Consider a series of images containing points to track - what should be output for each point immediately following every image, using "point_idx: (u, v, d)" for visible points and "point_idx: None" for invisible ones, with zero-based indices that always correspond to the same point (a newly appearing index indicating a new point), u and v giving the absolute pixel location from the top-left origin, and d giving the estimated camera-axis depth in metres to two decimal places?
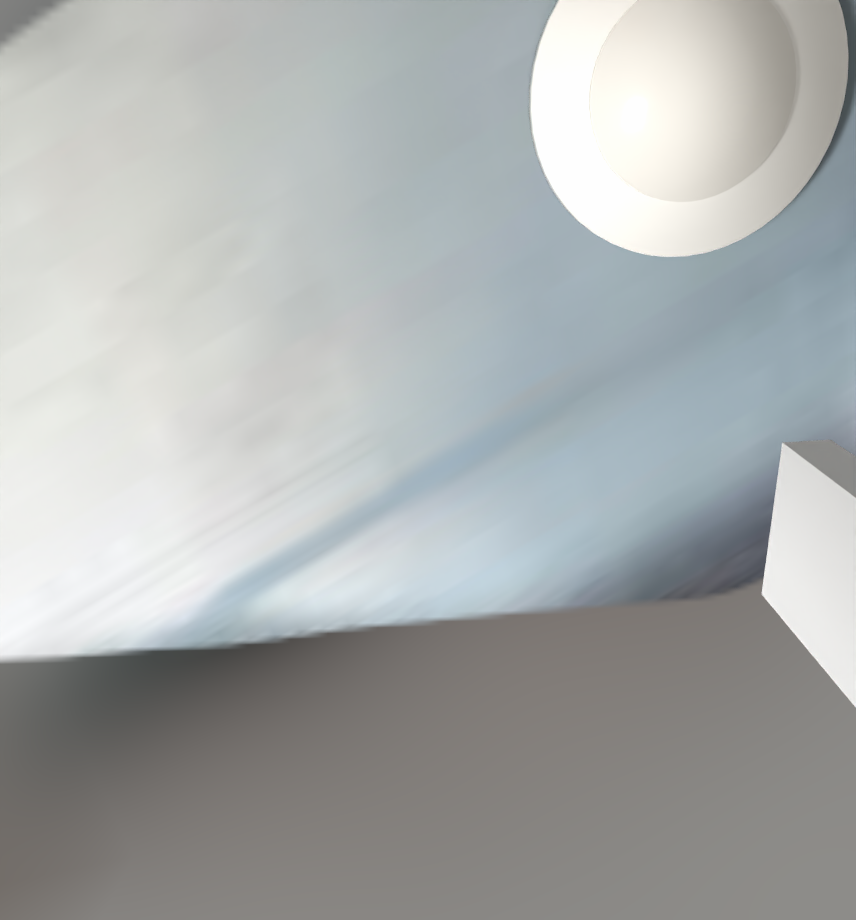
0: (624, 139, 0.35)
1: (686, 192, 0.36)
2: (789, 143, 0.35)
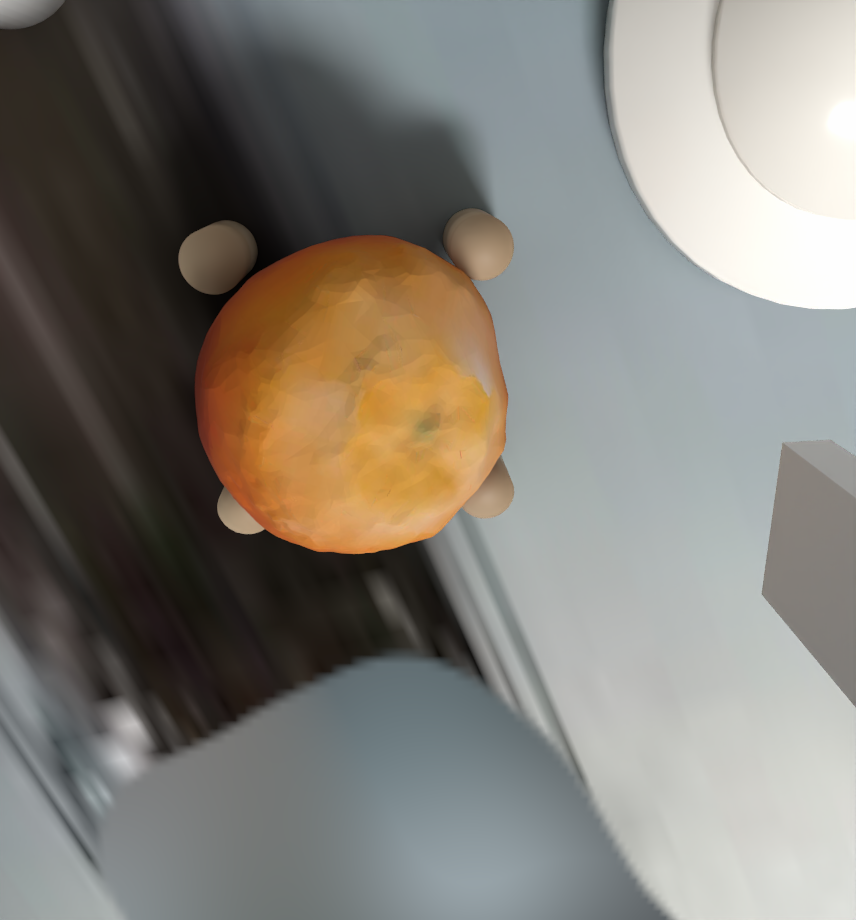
0: None
1: None
2: None
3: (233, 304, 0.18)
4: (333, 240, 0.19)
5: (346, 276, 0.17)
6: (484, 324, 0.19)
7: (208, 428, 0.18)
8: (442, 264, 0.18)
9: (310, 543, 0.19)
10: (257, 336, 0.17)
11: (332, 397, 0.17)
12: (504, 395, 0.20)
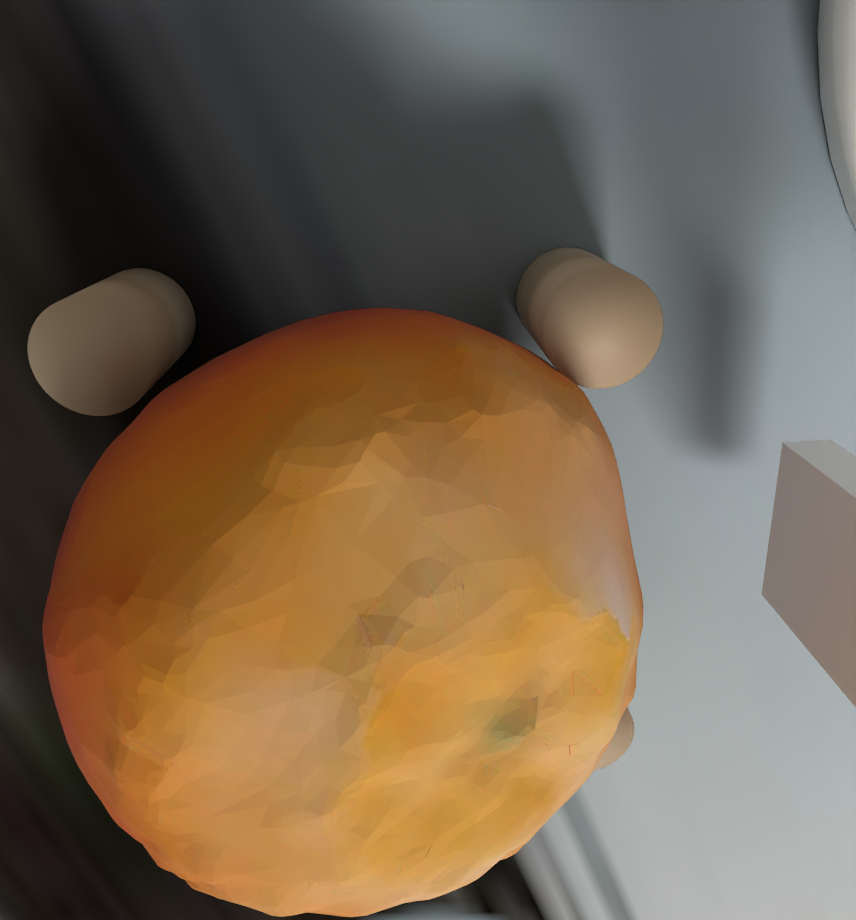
0: None
1: None
2: None
3: (111, 462, 0.09)
4: (319, 325, 0.09)
5: (340, 429, 0.07)
6: (616, 489, 0.10)
7: (59, 715, 0.09)
8: (541, 379, 0.09)
9: None
10: (140, 564, 0.07)
11: (307, 701, 0.07)
12: (640, 604, 0.11)
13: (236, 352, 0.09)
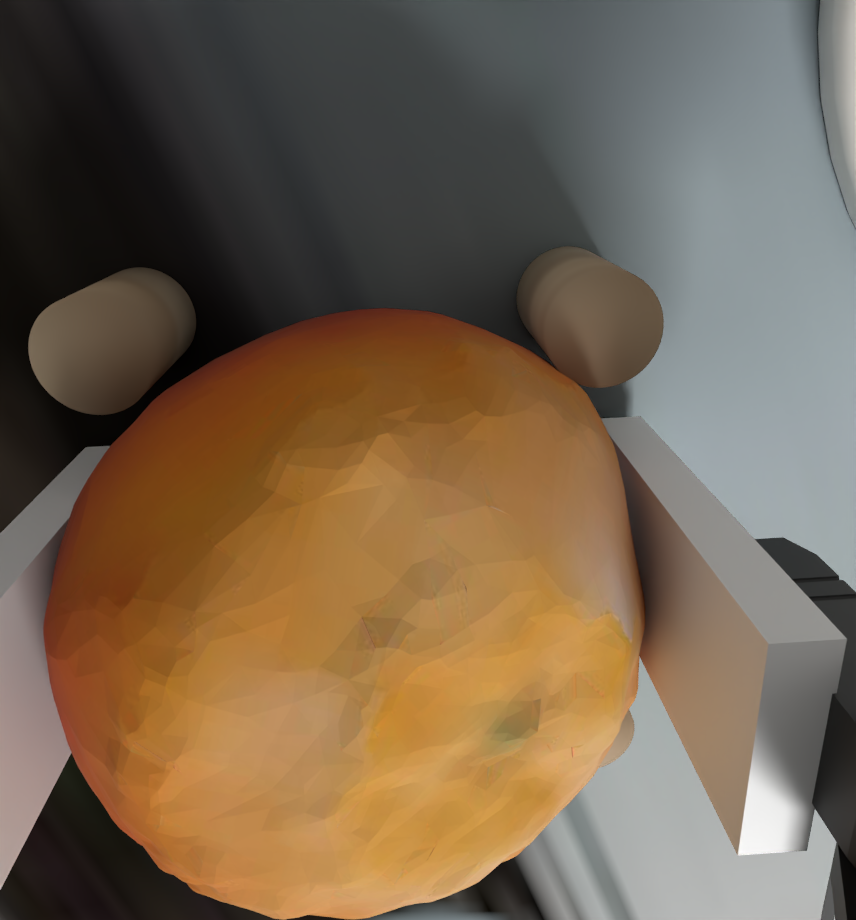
0: None
1: None
2: None
3: (113, 463, 0.09)
4: (321, 326, 0.09)
5: (343, 431, 0.07)
6: (617, 489, 0.10)
7: (60, 717, 0.09)
8: (544, 380, 0.09)
9: None
10: (141, 566, 0.07)
11: (309, 703, 0.07)
12: (643, 605, 0.11)
13: (237, 353, 0.09)
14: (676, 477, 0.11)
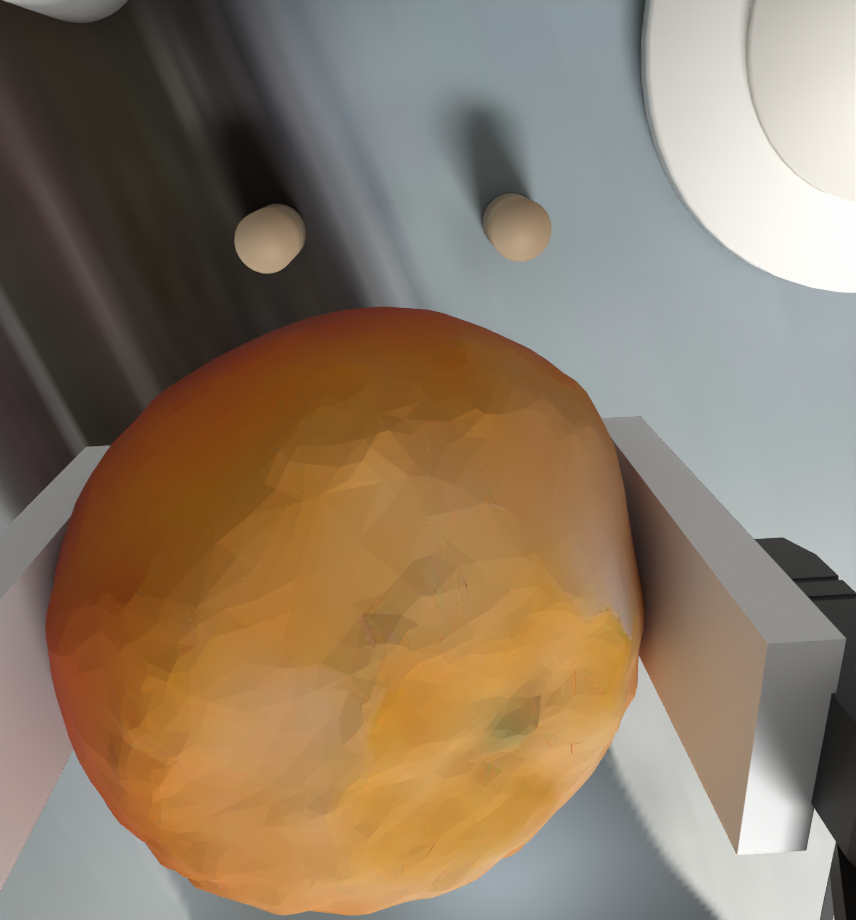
0: None
1: None
2: None
3: (114, 460, 0.09)
4: (322, 324, 0.09)
5: (343, 427, 0.07)
6: (618, 488, 0.10)
7: (62, 713, 0.09)
8: (544, 379, 0.09)
9: None
10: (143, 563, 0.07)
11: (310, 700, 0.07)
12: (642, 603, 0.11)
13: (239, 351, 0.09)
14: (676, 477, 0.11)
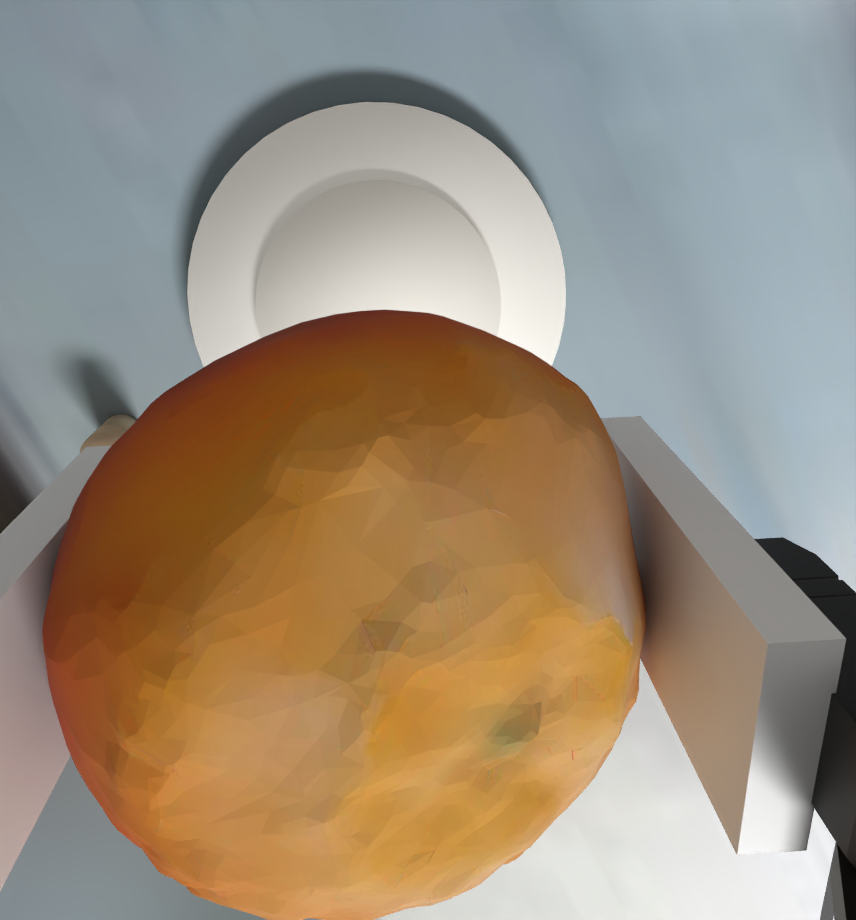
0: None
1: (490, 309, 0.29)
2: (440, 173, 0.28)
3: (112, 465, 0.09)
4: (321, 327, 0.09)
5: (342, 432, 0.07)
6: (619, 492, 0.10)
7: (59, 720, 0.09)
8: (545, 382, 0.09)
9: None
10: (140, 568, 0.07)
11: (310, 708, 0.07)
12: (643, 608, 0.11)
13: (237, 354, 0.09)
14: (676, 477, 0.11)
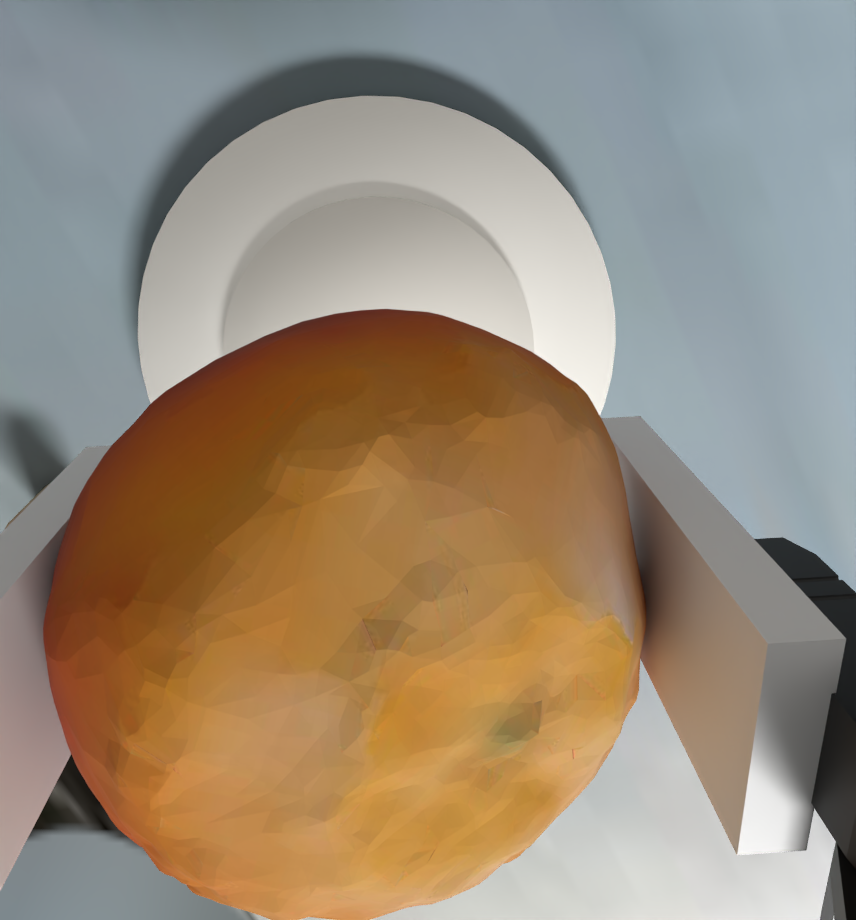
0: None
1: None
2: (459, 188, 0.21)
3: (113, 464, 0.09)
4: (322, 326, 0.09)
5: (343, 432, 0.07)
6: (619, 490, 0.10)
7: (60, 719, 0.09)
8: (545, 381, 0.09)
9: None
10: (142, 567, 0.07)
11: (310, 706, 0.07)
12: (643, 607, 0.11)
13: (238, 353, 0.09)
14: (676, 477, 0.11)
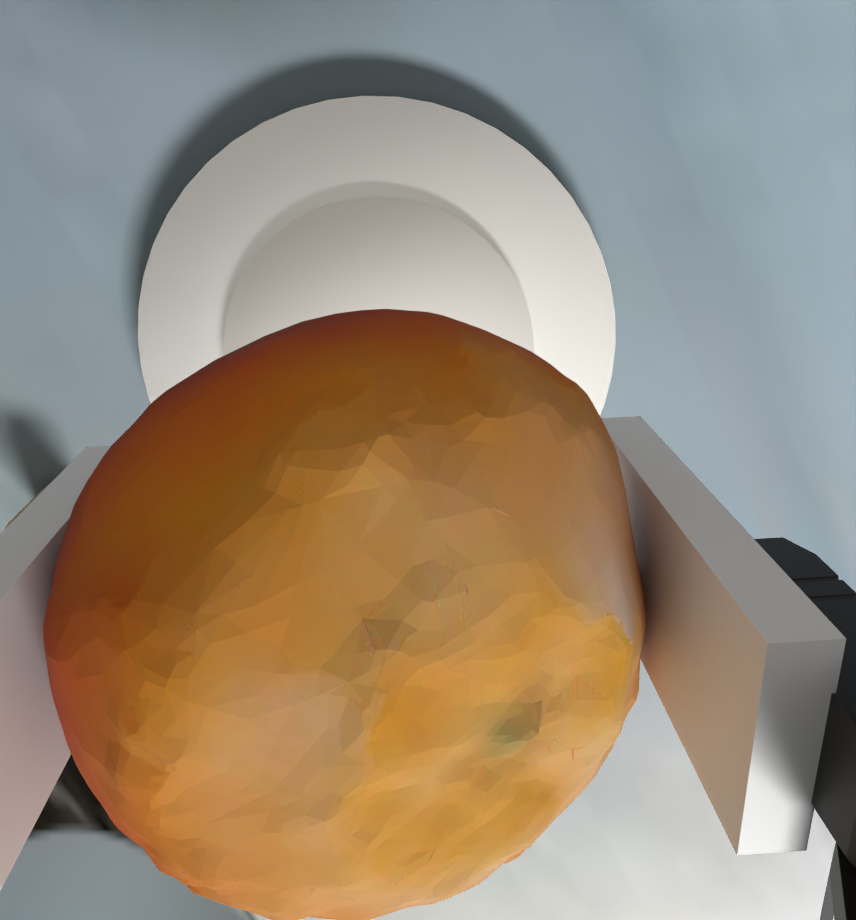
0: None
1: None
2: (459, 188, 0.21)
3: (113, 464, 0.09)
4: (322, 326, 0.09)
5: (343, 432, 0.07)
6: (619, 490, 0.10)
7: (60, 719, 0.09)
8: (545, 381, 0.09)
9: None
10: (142, 567, 0.07)
11: (310, 706, 0.07)
12: (643, 607, 0.11)
13: (238, 353, 0.09)
14: (676, 477, 0.11)
